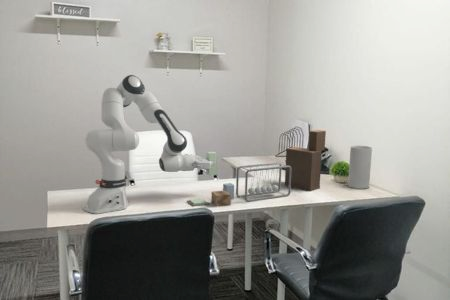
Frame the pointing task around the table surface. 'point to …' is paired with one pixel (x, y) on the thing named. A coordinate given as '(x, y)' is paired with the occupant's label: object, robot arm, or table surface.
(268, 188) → the newton's cradle
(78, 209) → the table surface
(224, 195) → the walnut block
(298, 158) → the stacked brown boxes
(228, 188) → the slate-blue pillar
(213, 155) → the green pillar
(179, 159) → the robot arm
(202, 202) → the green tile
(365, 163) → the cylinder vase
